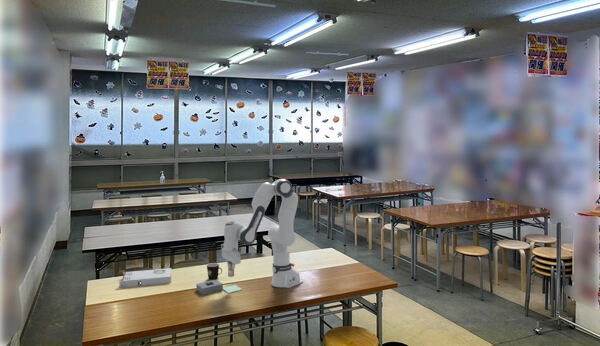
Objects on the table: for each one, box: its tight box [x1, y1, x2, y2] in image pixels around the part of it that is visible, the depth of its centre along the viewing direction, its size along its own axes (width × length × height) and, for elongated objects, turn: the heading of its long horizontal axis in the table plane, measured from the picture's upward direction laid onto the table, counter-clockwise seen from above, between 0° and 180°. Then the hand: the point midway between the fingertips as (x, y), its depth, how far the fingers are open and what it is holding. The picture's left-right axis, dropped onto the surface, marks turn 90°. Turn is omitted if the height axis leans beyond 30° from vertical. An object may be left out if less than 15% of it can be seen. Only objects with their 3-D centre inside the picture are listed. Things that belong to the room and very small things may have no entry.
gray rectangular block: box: [195, 279, 224, 295], centre depth 270 cm, size 14×10×4 cm
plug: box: [227, 262, 235, 278], centre depth 269 cm, size 4×4×9 cm
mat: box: [222, 284, 243, 294], centre depth 271 cm, size 10×10×1 cm
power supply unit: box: [118, 267, 173, 288], centre depth 288 cm, size 19×33×5 cm, turn 106°
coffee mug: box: [206, 262, 223, 281], centre depth 290 cm, size 12×9×10 cm
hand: (231, 267), depth 269 cm, fingers closed on plug, 4 cm apart
